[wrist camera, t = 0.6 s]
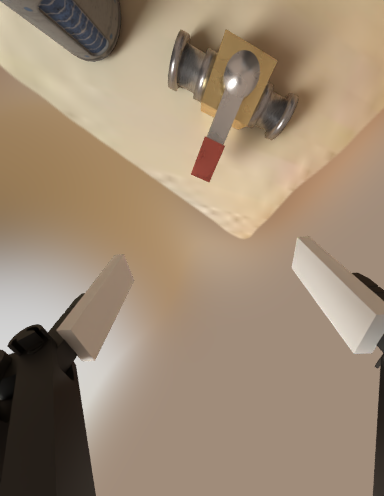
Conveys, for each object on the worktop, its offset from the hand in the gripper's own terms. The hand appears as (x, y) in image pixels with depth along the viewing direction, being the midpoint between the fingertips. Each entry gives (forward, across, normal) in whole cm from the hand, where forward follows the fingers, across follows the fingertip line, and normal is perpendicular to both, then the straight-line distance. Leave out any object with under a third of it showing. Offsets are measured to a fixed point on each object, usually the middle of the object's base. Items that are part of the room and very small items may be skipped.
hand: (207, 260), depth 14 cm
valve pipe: (+26, +6, +14) cm, 30 cm away
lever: (+18, +3, +10) cm, 21 cm away
